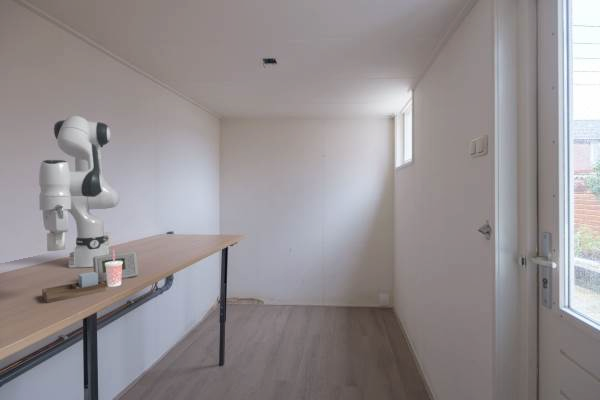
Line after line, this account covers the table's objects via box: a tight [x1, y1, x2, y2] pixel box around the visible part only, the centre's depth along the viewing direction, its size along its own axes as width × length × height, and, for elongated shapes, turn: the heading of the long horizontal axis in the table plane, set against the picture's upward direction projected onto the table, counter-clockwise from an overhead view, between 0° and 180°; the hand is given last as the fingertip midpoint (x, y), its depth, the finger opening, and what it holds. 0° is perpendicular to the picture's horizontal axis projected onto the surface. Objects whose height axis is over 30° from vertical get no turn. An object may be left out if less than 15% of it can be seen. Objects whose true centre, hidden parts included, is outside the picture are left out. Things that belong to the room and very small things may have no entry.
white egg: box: [46, 232, 66, 252], centre depth 109 cm, size 5×5×6 cm
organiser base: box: [41, 279, 107, 304], centre depth 111 cm, size 9×17×3 cm, turn 138°
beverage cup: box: [105, 249, 123, 288], centre depth 121 cm, size 6×6×14 cm
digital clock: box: [92, 251, 139, 283], centre depth 130 cm, size 16×9×11 cm, turn 121°
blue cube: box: [77, 271, 98, 288], centre depth 114 cm, size 5×5×5 cm
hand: (56, 243), depth 109 cm, fingers closed on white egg, 5 cm apart
